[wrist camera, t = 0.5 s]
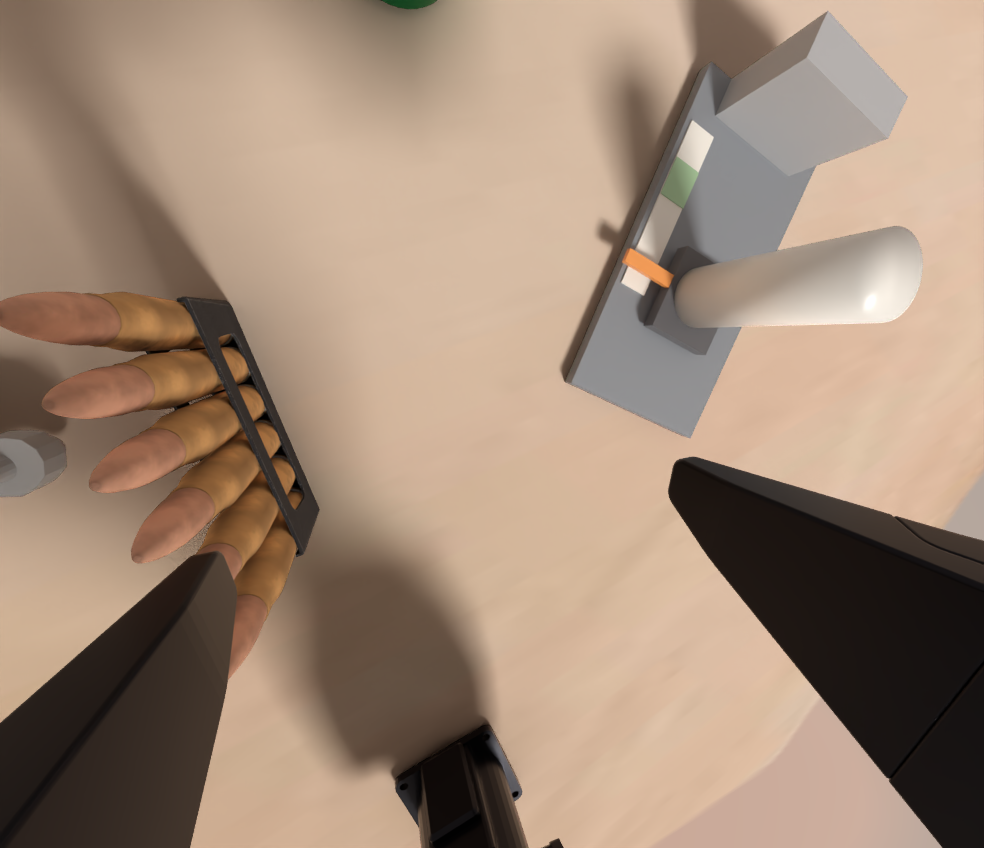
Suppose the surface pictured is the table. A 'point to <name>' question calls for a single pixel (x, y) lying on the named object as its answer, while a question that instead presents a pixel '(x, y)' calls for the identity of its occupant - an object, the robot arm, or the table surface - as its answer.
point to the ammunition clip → (186, 433)
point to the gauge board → (729, 204)
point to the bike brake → (29, 461)
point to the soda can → (409, 3)
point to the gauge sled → (784, 286)
